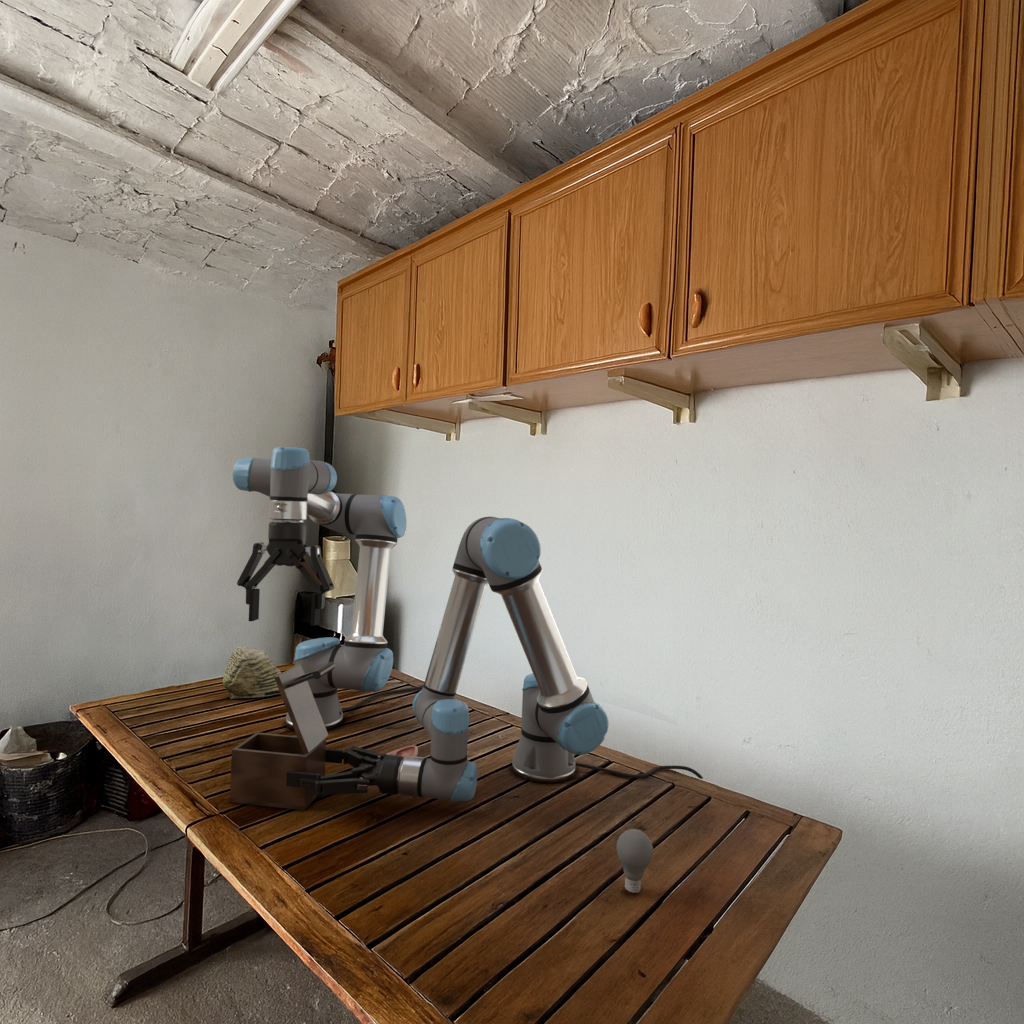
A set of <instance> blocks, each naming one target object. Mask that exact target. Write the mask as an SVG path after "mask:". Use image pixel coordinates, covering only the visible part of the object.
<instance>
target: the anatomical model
mask: <svg viewBox="0 0 1024 1024" xmlns="http://www.w3.org/2000/svg"><path fill="white" fill-rule="evenodd" d="M385 754H387V755H388V754H389V755H400V756H403V757H404V758H405V757H406V756H414V757H418V755H419V748H418V746H417V745H412V744H411V745H407V746H404V747H401V748H400V747H399V748H398V749H394V750H391V751H389V752H387V753H385Z"/></svg>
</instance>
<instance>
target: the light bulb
mask: <svg viewBox="0 0 1024 1024" xmlns="http://www.w3.org/2000/svg"><path fill="white" fill-rule="evenodd" d="M615 849H616V854H617V857H618V859H619V861H620V863H621V865H622V867H623V873H624V874H623V875H624V876H625V878H624V888H625V890H627V891H628V892H630V893H634V894H635V893H639V892H640V891H641V889H642V887H641V886H642V879H643V877H644V875H645V871H646V868H647V867H648V866H649V864H650V863H651V861H652V859H653V855H654V847H653V843H652V841H651V838H649V836H648V835H647V834H646V833H645V832H643V831H642V830H641V829H636V828H629V829H627V830H625V831H623V832H622V833H621V834H620V835H619V837H618V839H617V841H616V847H615Z"/></svg>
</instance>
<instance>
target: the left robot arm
mask: <svg viewBox="0 0 1024 1024" xmlns="http://www.w3.org/2000/svg"><path fill="white" fill-rule="evenodd" d="M270 457H271V458H261V457H260V458H259V457H257V458H256V457H249V458H247V457H246V458H240V459H238V460H237V461H236V462H235V464H234V466H233V468H232V475H231V476H232V477H231V478H232V481H233V484H234V486H235V487H236V488H237V489H238V490H240V491H245V492H249V493H251V492H256V493H259V494H262V495H265V496H267V497H268V498H269V510H268V519H270V520H271V521H270V522H268V533H267V534H268V535H267V537H268V542H267V543H265V542H255V543H253V545H252V552H251V555H250V557H249V559H248V560H247V562H246V564H245V566H244V568H243V570H242V572H241V574H240V576H239V578H238V580H237V582H236V585H237V586H238V587H242V588H244V589H245V605H248V622H255V621H257V620H259V619H260V595H261V594H260V592H261V590H260V589H261V588H257V587H258V585H259V584H260V583H261V582H262V581H263V580H264V579H265V578H266V576H267V575H268V574H269V573H270V572H271V570H273V568H274V567H276V566H278V567H281V566H285V567H295V568H296V569H297V570H299V572H300V573H301V575H302V576H303V577H304V579H305V580H306V581H307V582H308V584H309V585H310V587H311V588H312V589H313V591H314V592H315V593H311V606H310V607H311V608H310V626H312V627H314V626H317V625H320V624H321V610H323V609H325V602H326V601H325V600H326V593H327V592H330V591H333V590H334V589H335V585H334V582H333V580H332V578H331V575H330V573H329V570H328V569H327V566H326V564H325V561H324V559H323V556H322V549H321V545H311V546H308V545H307V543H306V541H307V528H308V527H307V526H308V525H307V523H306V522H305V521H306V520H308V517H309V519H310V520H311V521H312V522H313V523H315V524H317V525H319V526H322V527H324V528H327V529H329V530H332V531H334V532H338V533H340V534H344V535H353V536H355V540H354V541H355V542H356V544H357V545H358V546H359V552H358V553H359V554H358V563H357V564H358V565H357V572H356V573H357V574H356V582H355V591H354V601H353V611H352V620H351V630H350V634H349V635H348V636H346V637H345V638H344V641H343V642H344V643H343V644H340V643H341V641H340V639H339V638H338V637H334V636H333V637H332V636H331V637H318V638H313V639H307V640H304V641H302V642H299V643H298V644H297V645H296V647H295V652H294V653H295V654H294V659H293V661H294V666H296V665H298V664H301V666H302V669H303V671H304V674H307V673H310V672H313V671H315V670H318V669H319V668H321V667H323V666H324V665H326V664H328V663H329V662H333V663H334V664H335V668H334V669H333V670H331V671H330V672H328V673H327V674H325V675H324V676H322V677H321V678H319V679H315V678H312V679H310V680H307V681H308V684H309V687H310V689H311V692H312V694H313V697H314V699H315V702H316V704H317V707H318V710H319V712H320V715H321V717H322V720H323V722H324V725H325V727H326V730H327V731H329V730H332V729H335V728H337V727H339V726H340V725H342V723H343V722H344V713H343V712H345V711H351V710H353V709H356V708H357V707H359V706H361V705H362V704H364V703H366V702H368V701H370V700H372V699H375V698H377V697H381V696H385V695H391V694H397V693H404V692H411V691H417V690H422V689H423V685H420V686H419V685H418V686H413V687H406V688H400V689H395V690H387V691H382V692H379V691H381V690H382V689H383V688H384V687H385V685H386V684H387V683H388V681H389V679H390V676H391V673H392V670H393V666H394V653H393V651H392V650H391V648H388V641H387V639H386V638H385V637H384V625H385V613H386V603H387V594H388V584H389V574H390V566H391V565H390V564H391V553H392V549H394V548H395V547H396V546H397V545H398V540H399V539H401V538H403V537H404V536H405V534H406V531H407V514H406V513H407V512H406V509H405V505H404V504H403V501H402V500H401V499H400V497H399V498H398V497H397V496H394V495H385V494H361V493H360V494H357V493H337V492H333V490H334V489H335V487H336V485H337V482H338V474H337V472H336V469H335V468H334V466H332V464H330V463H329V462H326V461H323V460H314V459H311V458H310V452H309V450H308V449H307V448H302V447H295V446H294V447H292V446H276V447H274V448H273V449H272V451H271V456H270ZM266 552H267V554H268V557H267V559H266V560H265V561H264V563H263V564H262V566H261V567H260V568H259V569H258V570H257V572H255V571H256V569H257V568H258V566H259V564H260V561H261V559H262V557H263V556H264V554H266ZM306 554H308V557H310V560H311V562H312V564H313V567H314V569H315V571H316V573H315V572H314V571H313V569H312V568H311V566H310V565H309V562H308V561H307V559H306V558H305V556H306ZM254 573H255V574H254ZM338 689H339V690H340V689H341V690H351V691H359V692H360V691H361V692H363V693H366V692H373V693H374V694H373V695H370V696H368V697H366V698H364V699H362V700H360V701H359V702H356V703H355V704H353V705H351V706H346V707H342V706H341V702H340V699H339V695H338ZM375 692H378V693H376V694H375ZM285 726H286V728H287V729H289V730H291V731H295V729H294V727H293V724H292V722H291V719H290V717H289V714H288V712H287V713H286V715H285Z"/></svg>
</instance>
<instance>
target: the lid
mask: <svg viewBox="0 0 1024 1024" xmlns="http://www.w3.org/2000/svg"><path fill="white" fill-rule="evenodd" d="M334 668H335V664H334V663H333V662H329V663H328V664H326V665H324V666H323V667H321V668H319V669H318V670H315V671H313V672H310V673H307V674H304V671H303V669H302V666H301V664H298V665H296V666H295V665H294V666H292V667H290V668H289V669H287V670H285V671H283V672H281V673H282V674H280V675H278V676H276V677H274V678H275V681H276V683H277V686H278V688H279V691H280V696H281V699H282V701H283V704H284V706H285V709H286V711H287V713H288V714H289V717H290V719H291V722H292V724H293V727H294V729H295V730H294V732H295V736H297V737H298V740H299V742H300V745H301V747H302V750H303V753H304V755H305V754H307V753H309V752H310V751H311V750H313V749H314V748H315V747H316V746H317V745H318V744H319V743H320V742H322V741H323V740H324V739H327V737H328V736H329V733H328V730H326V727H325V725H324V722H323V720H322V717H321V715H320V712H319V710H318V707H317V704H316V702H315V699H314V697H313V694H312V692H311V689H310V687H309V684H308V681H307V680H310V679H312V678H315V679H319V678H321V677H322V676H324V675H325V674H327V673H328V672H330V671H331V670H333V669H334Z"/></svg>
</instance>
